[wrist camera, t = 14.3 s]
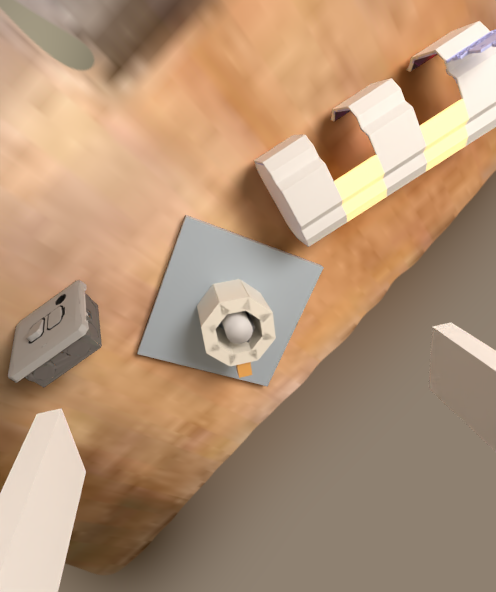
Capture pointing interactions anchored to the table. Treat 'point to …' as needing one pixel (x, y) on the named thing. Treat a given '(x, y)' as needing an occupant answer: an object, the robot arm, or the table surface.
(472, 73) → the striped octagonal tube
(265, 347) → the beige octagonal hollow block
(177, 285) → the shaft plate
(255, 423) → the table surface
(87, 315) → the electrical switch
